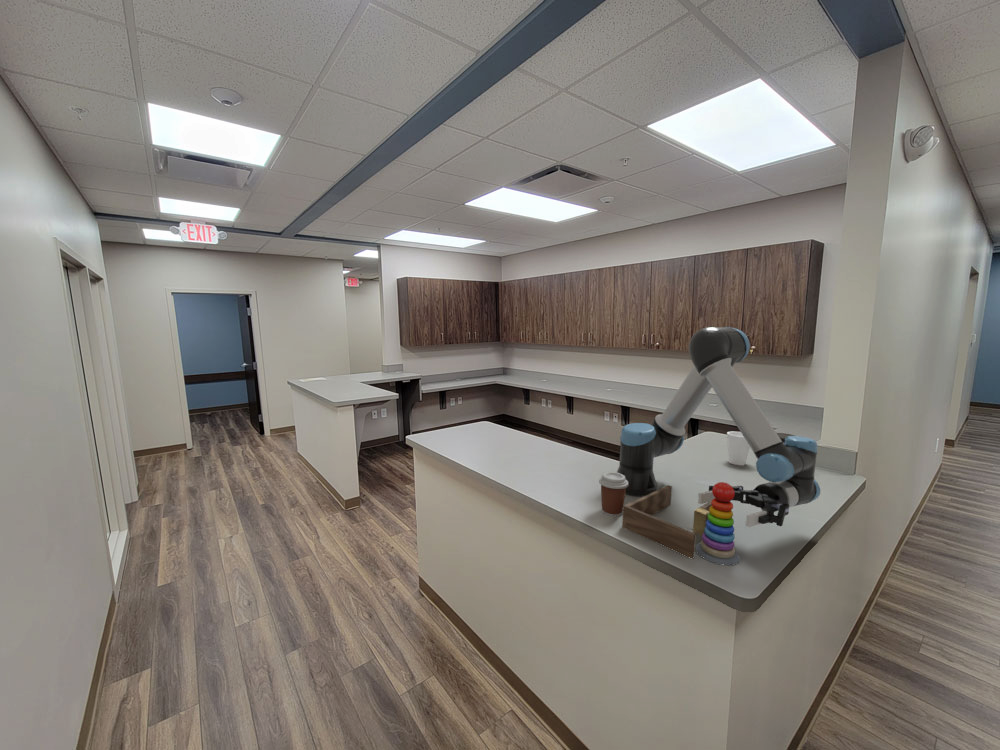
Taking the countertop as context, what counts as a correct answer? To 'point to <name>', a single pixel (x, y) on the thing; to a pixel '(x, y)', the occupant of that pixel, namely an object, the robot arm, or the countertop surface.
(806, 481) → the robot arm
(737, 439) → the foam cup
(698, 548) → the pad
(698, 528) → the corner post
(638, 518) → the brown open angular frame
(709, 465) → the countertop surface
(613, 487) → the coffee cup
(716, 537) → the stacking toy
